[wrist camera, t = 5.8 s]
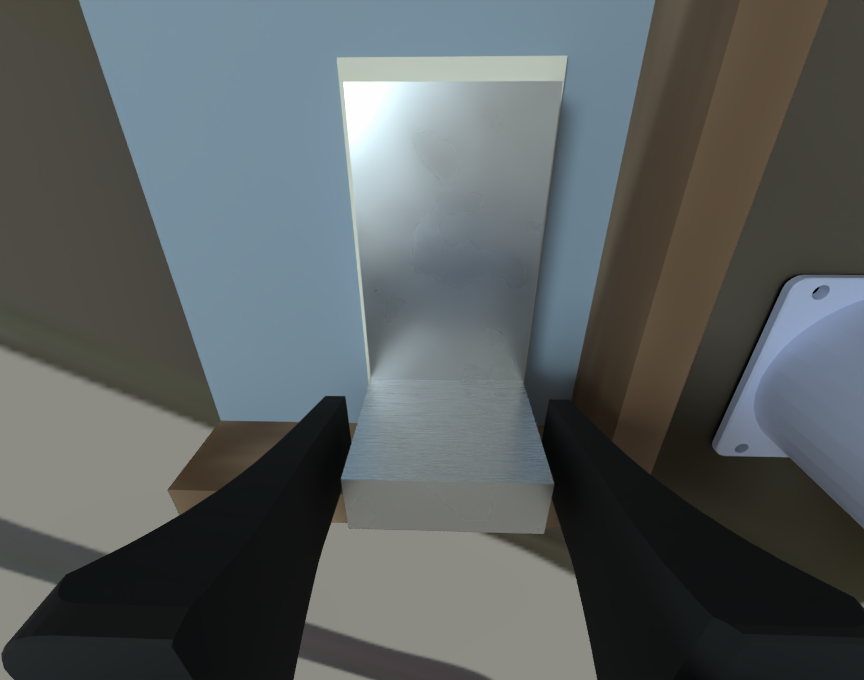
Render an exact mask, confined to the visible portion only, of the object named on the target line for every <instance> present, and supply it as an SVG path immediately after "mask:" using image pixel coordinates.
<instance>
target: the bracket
mask: <svg viewBox="0 0 864 680" xmlns="http://www.w3.org/2000/svg"><path fill="white" fill-rule="evenodd" d="M343 84H344V95H345V106H346V117H347V127H348V138H349V149H350V160H351V171H352V182H353V192H354V203H355V214H356V225H357V236H358V246H359V257H360V268H361V279H362V290H363V301H364V311H365V322H366V333H367V344H368V355H369V365H370V376H371V379H370V383H369V386H368V389H367V393H366V396H365V399H364V403H363V406H362V409H361V413H360V416H359V420H358V423H357V426H356V430H355V433H354V436H353V440H352V443H351V446H350V450H349V453H348V457H347V460H346V463H345V467H344V470H343V473H342V477H341V484H342V490H343V497H344V503H345V509H346V515H347V521H348V527H349V529H383V530H421V531H458V532H496V533H534V534H544V531H545V526H546V522H547V517H548V512H549V508H550V503H551V498H552V493H553V489H554V481H553V478H552V475H551V471H550V468H549V465H548V461H547V458H546V455H545V452H544V448H543V445H542V442H541V439H540V435H539V432H538V429H537V426H536V422H535V419H534V416H533V413H532V409H531V406H530V403H529V399H528V396H527V393H526V390H525V386H524V383H523V376H524V369H525V361H526V354H527V346H528V339H529V331H530V324H531V316H532V309H533V301H534V294H535V286H536V279H537V271H538V264H539V256H540V249H541V241H542V234H543V226H544V219H545V211H546V204H547V196H548V189H549V182H550V174H551V167H552V159H553V152H554V144H555V137H556V129H557V122H558V114H559V107H560V99H561V92H562V84H563V81H446V82H343Z"/></svg>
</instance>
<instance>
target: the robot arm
mask: <svg viewBox="0 0 864 680" xmlns="http://www.w3.org/2000/svg"><path fill="white" fill-rule="evenodd" d="M818 287H819V289H818V290H817V292H815V293H814V294H812V293H813V291H814V290H815V289H816V288H818ZM351 443H352V442H351V434H350V427H349V419H348V412H347V405H346V397H345V396H325V397H324V398H323V399H322V400H321V401H320V402H319V403H318V404H317V405H316V406H315V407H314V408H313V409H312V410H311V411H310V412H309V413H308V414H307V415H306V416H305V417H304V418H303V419H302V420H301V421H300V422H299V423H298V424H297V425H296V426H295V427H293V428H292V429H291V430H290V431H289V432H288V433H287V434H286V435H285V436H284V437H283V438H282V439H281V440H280V441H279V442H278V443H277V444H275V445H274V446H273V447H272V448H271V449H270V450H269V451H267V452H266V453H265V454H264V455H263V456H262V457H261V458H259V459H258V460H257V461H256V462H255V463H254V464H252V465H251V466H250V467H249V468H247V469H246V470H245V471H244V472H242V473H241V474H240V475H238V476H237V477H236V478H234V479H233V480H232V481H230V482H229V483H227V484H226V485H225V486H223V487H222V488H221V489H219V490H218V491H216V492H215V493H213V494H212V495H210V496H209V497H207V498H206V499H204V500H202V501H201V502H199V503H198V504H196V505H195V506H193V507H192V508H190V509H189V510H187V511H186V512H184V513H182V514H181V515H179V516H178V517H176V518H174V519H172V520H171V521H169V522H167V523H166V524H164V525H162V526H160V527H159V528H157V529H155V530H153V531H152V532H150V533H148V534H146V535H144V536H143V537H141V538H139V539H137V540H135V541H133V542H131V543H130V544H128V545H126V546H124V547H122V548H120V549H118V550H116V551H114V552H112V553H110V554H108V555H106V556H104V557H102V558H100V559H98V560H96V561H94V562H92V563H89V564H87V565H85V566H83V567H81V568H79V569H77V570H75V571H73V572H71V573H69V574H66V575H65V577H64V578H63V579H62V580H61V581H60V582H59V583H58V584H57V586H56V587H55V588H54V589H53V590H52V591H51V593H50V594H49V595H48V596H47V597H46V599H45V600H44V601H43V602H42V603H41V604H40V606H39V607H38V608H37V609H36V610H35V611H34V613H33V614H32V615H31V616H30V617H29V619H28V620H27V621H26V622H25V623H24V624H23V626H22V627H21V628H20V629H19V630H18V632H17V633H16V634H15V635H14V636H13V637H12V639H11V640H10V641H9V642H8V643H7V644H6V646H5V647H4V650H3V652H2V662H3V666H4V669H5V670H6V671H7V672H8V673H9V675H10V676H11V677H12V678H13V679H14V680H293V679H294V674H295V668H296V664H297V659H298V654H299V649H300V644H301V638H302V634H303V629H304V625H305V620H306V615H307V610H308V606H309V601H310V597H311V592H312V587H313V583H314V579H315V575H316V571H317V566H318V562H319V559H320V555H321V552H322V549H323V545H324V542H325V539H326V536H327V533H328V530H329V527H330V524H331V521H332V518H333V515H334V512H335V509H336V506H337V503H338V500H339V497H340V494H341V491H342V484H341V477H342V473H343V470H344V467H345V463H346V460H347V457H348V453H349V450H350V446H351ZM542 445H543V448H544V452H545V455H546V458H547V461H548V465H549V468H550V471H551V475H552V478H553V481H554V489H553V493H552V502H553V505H554V508H555V511H556V514H557V517H558V520H559V523H560V526H561V529H562V532H563V535H564V538H565V541H566V544H567V547H568V550H569V553H570V557H571V560H572V564H573V567H574V571H575V575H576V579H577V584H578V588H579V592H580V597H581V601H582V606H583V610H584V615H585V620H586V625H587V629H588V634H589V638H590V643H591V649H592V654H593V659H594V665H595V670H596V674H597V680H864V608H863V607H862V606H861V604H860V603H859V602H858V601H857V600H856V599H855V598H854V597H852V596H850V595H848V594H846V593H844V592H842V591H840V590H838V589H836V588H835V587H833V586H831V585H829V584H827V583H825V582H823V581H821V580H819V579H817V578H815V577H813V576H811V575H809V574H807V573H805V572H803V571H801V570H799V569H797V568H795V567H793V566H791V565H789V564H787V563H786V562H784V561H782V560H780V559H778V558H777V557H775V556H773V555H771V554H769V553H768V552H766V551H764V550H762V549H761V548H759V547H757V546H755V545H754V544H752V543H750V542H748V541H747V540H745V539H743V538H742V537H740V536H738V535H737V534H735V533H733V532H732V531H730V530H728V529H727V528H725V527H724V526H722V525H721V524H719V523H718V522H716V521H714V520H713V519H711V518H710V517H708V516H707V515H705V514H704V513H702V512H700V511H699V510H698V509H696V508H695V507H693V506H692V505H690V504H689V503H687V502H686V501H684V500H683V499H682V498H680V497H679V496H678V495H676V494H675V493H674V492H672V491H671V490H670V489H668V488H667V487H665V486H664V485H663V484H661V483H660V482H659V481H658V480H656V479H655V478H654V477H653V476H651V475H650V474H649V473H648V472H646V471H645V470H644V469H643V468H642V467H640V466H639V465H638V464H637V463H636V462H635V461H633V460H632V459H631V458H630V457H629V456H628V455H626V454H625V453H624V452H623V451H622V450H621V449H620V448H619V447H618V446H616V445H615V444H614V443H613V442H612V441H611V440H610V439H609V438H608V437H607V436H606V435H605V434H604V433H603V432H602V431H601V430H600V429H599V428H598V427H597V426H596V425H595V424H594V423H593V422H592V421H591V420H590V419H589V418H588V417H587V416H586V415H585V414H584V413H583V412H582V411H581V410H580V409H579V408H578V407H577V406H576V405H575V404H574V403H572V402H571V401H570V400H556V399H549V402H548V408H547V414H546V419H545V425H544V431H543V437H542ZM712 447H713V449H714V450H715V451H716V452H717V453H718V454H719V455H722V456H752V457H789V458H790V459H791V460H792V461H794V462H795V463H796V464H797V465H798V466H799V467H800V468H801V469H802V470H803V471H804V472H805V473H806V474H807V475H808V476H809V477H810V478H811V479H812V480H813V481H814V482H815V483H816V484H818V485H819V486H820V487H821V488H822V489H823V490H824V491H825V492H826V493H827V494H828V495H829V496H830V497H831V498H832V499H833V500H834V501H835V502H836V503H837V504H838V505H839V506H841V507H842V508H843V509H844V510H845V511H846V512H847V513H848V514H849V515H850V516H851V517H852V518H853V519H854V520H855V521H856V522H857V523H858V524H859V525H860V526H861V527H862V528H863V529H864V275H799V276H796V277H794V278H792V279H790V280H789V281H788V282H787V283H786V284H785V285H784V287H783V288H782V290H781V293H780V295H779V297H778V299H777V301H776V303H775V306H774V308H773V310H772V312H771V314H770V317H769V319H768V321H767V323H766V325H765V328H764V330H763V332H762V334H761V336H760V339H759V341H758V343H757V345H756V347H755V350H754V352H753V354H752V356H751V358H750V361H749V363H748V365H747V367H746V369H745V372H744V374H743V376H742V378H741V380H740V383H739V385H738V387H737V389H736V391H735V394H734V396H733V398H732V400H731V402H730V404H729V407H728V409H727V411H726V413H725V415H724V418H723V420H722V422H721V424H720V426H719V429H718V431H717V433H716V435H715V437H714V440H713V442H712Z"/></svg>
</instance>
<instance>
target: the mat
mask: <svg viewBox="0 0 864 680" xmlns="http://www.w3.org/2000/svg"><path fill="white" fill-rule="evenodd" d="M79 2H80V5H81V8H82V11H83V14H84V17H85V20H86V22H87V25H88V28H89V31H90V34H91V37H92V40H93V43H94V46H95V49H96V52H97V55H98V58H99V61H100V64H101V67H102V70H103V73H104V76H105V79H106V82H107V85H108V88H109V91H110V94H111V97H112V100H113V103H114V106H115V108H116V111H117V114H118V117H119V120H120V123H121V126H122V129H123V132H124V135H125V138H126V141H127V144H128V147H129V150H130V153H131V156H132V159H133V162H134V165H135V168H136V171H137V174H138V177H139V180H140V183H141V186H142V189H143V191H144V194H145V197H146V200H147V203H148V206H149V209H150V212H151V215H152V218H153V221H154V224H155V227H156V230H157V233H158V236H159V239H160V242H161V245H162V248H163V251H164V254H165V257H166V260H167V263H168V266H169V269H170V272H171V274H172V277H173V280H174V283H175V286H176V289H177V292H178V295H179V298H180V301H181V304H182V307H183V310H184V313H185V316H186V319H187V322H188V325H189V328H190V331H191V334H192V337H193V340H194V343H195V346H196V349H197V352H198V355H199V357H200V360H201V363H202V366H203V369H204V372H205V375H206V378H207V381H208V384H209V387H210V390H211V393H212V396H213V399H214V402H215V405H216V408H217V411H218V414H219V417H220V420H221V421H275V422H300V421H301V420H302V419H303V418H304V417H305V416H306V415H307V414H308V413H309V412H310V411H311V410H312V409H313V408H314V407H315V406H316V405H317V404H318V403H319V402H320V401H321V400H322V399H323V398H324V397H325V396H345V397H346V405H347V412H348V419H349V423H358V420H359V416H360V413H361V409H362V406H363V403H364V399H365V396H366V393H367V389H368V386H369V383H370V379H371V376H370V365H369V355H368V344H367V333H366V322H365V311H364V301H363V290H362V279H361V268H360V257H359V246H358V236H357V225H356V214H355V203H354V192H353V182H352V171H351V160H350V149H349V138H348V127H347V117H346V106H345V95H344V84H343V82H446V81H563V84H562V92H561V99H560V107H559V114H558V122H557V129H556V137H555V144H554V152H553V159H552V167H551V174H550V182H549V189H548V196H547V204H546V211H545V219H544V226H543V234H542V241H541V249H540V256H539V264H538V271H537V279H536V286H535V294H534V301H533V309H532V316H531V324H530V331H529V339H528V346H527V354H526V361H525V369H524V376H523V383H524V386H525V390H526V393H527V396H528V399H529V403H530V406H531V409H532V413H533V416H534V419H535V422H536V426H544V425H545V419H546V414H547V408H548V402H549V399H556V400H570V401H571V399H572V394H573V390H574V385H575V380H576V375H577V371H578V366H579V361H580V356H581V352H582V347H583V342H584V337H585V332H586V328H587V323H588V318H589V313H590V309H591V304H592V299H593V294H594V290H595V285H596V280H597V275H598V271H599V266H600V261H601V256H602V252H603V247H604V242H605V237H606V233H607V228H608V223H609V218H610V213H611V209H612V204H613V199H614V194H615V190H616V185H617V180H618V175H619V171H620V166H621V161H622V156H623V152H624V147H625V142H626V137H627V133H628V128H629V123H630V118H631V114H632V109H633V104H634V99H635V95H636V90H637V85H638V80H639V75H640V71H641V66H642V61H643V56H644V52H645V47H646V42H647V37H648V33H649V28H650V23H651V18H652V14H653V9H654V4H655V0H79Z"/></svg>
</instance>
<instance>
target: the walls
mask: <svg viewBox="0 0 864 680" xmlns="http://www.w3.org/2000/svg"><path fill="white" fill-rule="evenodd" d="M827 2H828V0H655V4H654V9H653V14H652V18H651V23H650V28H649V33H648V37H647V42H646V47H645V52H644V56H643V61H642V66H641V71H640V75H639V80H638V85H637V90H636V95H635V99H634V104H633V109H632V114H631V118H630V123H629V128H628V133H627V137H626V142H625V147H624V152H623V156H622V161H621V166H620V171H619V175H618V180H617V185H616V190H615V194H614V199H613V204H612V209H611V213H610V218H609V223H608V228H607V233H606V237H605V242H604V247H603V252H602V256H601V261H600V266H599V271H598V275H597V280H596V285H595V290H594V294H593V299H592V304H591V309H590V313H589V318H588V323H587V328H586V332H585V337H584V342H583V347H582V352H581V356H580V361H579V366H578V371H577V375H576V380H575V385H574V390H573V394H572V399H571V402H572V403H574V404H575V405H576V406H577V407H578V408H579V409H580V410H581V411H582V412H583V413H584V414H585V415H586V416H587V417H588V418H589V419H590V420H591V421H592V422H593V423H594V424H595V425H596V426H597V427H598V428H599V429H600V430H601V431H602V432H603V433H604V434H605V435H606V436H607V437H608V438H609V439H610V440H611V441H612V442H613V443H614V444H615V445H616V446H618V447H619V448H620V449H621V450H622V451H623V452H624V453H625V454H626V455H628V456H629V457H630V458H631V459H632V460H633V461H635V462H636V463H637V464H638V465H639V466H640V467H642V468H643V469H644V470H645V471H646V472H648V473H649V474H650V475H651V472H652V470H653V467H654V464H655V462H656V459H657V456H658V454H659V451H660V448H661V446H662V443H663V440H664V438H665V435H666V432H667V430H668V427H669V424H670V422H671V419H672V416H673V414H674V411H675V408H676V406H677V403H678V400H679V398H680V395H681V392H682V390H683V387H684V384H685V382H686V379H687V376H688V374H689V371H690V368H691V366H692V363H693V360H694V358H695V355H696V352H697V349H698V347H699V344H700V341H701V339H702V336H703V333H704V331H705V328H706V325H707V323H708V320H709V317H710V315H711V312H712V309H713V307H714V304H715V301H716V299H717V296H718V293H719V291H720V288H721V285H722V283H723V280H724V277H725V275H726V272H727V269H728V267H729V264H730V261H731V259H732V256H733V253H734V251H735V248H736V245H737V243H738V240H739V237H740V235H741V232H742V229H743V227H744V224H745V221H746V219H747V216H748V213H749V211H750V208H751V205H752V203H753V200H754V197H755V195H756V192H757V189H758V187H759V184H760V181H761V179H762V176H763V173H764V171H765V168H766V165H767V163H768V160H769V157H770V155H771V152H772V149H773V146H774V144H775V141H776V138H777V136H778V133H779V130H780V128H781V125H782V122H783V120H784V117H785V114H786V112H787V109H788V106H789V104H790V101H791V98H792V96H793V93H794V90H795V88H796V85H797V82H798V80H799V77H800V74H801V72H802V69H803V66H804V64H805V61H806V58H807V56H808V53H809V50H810V48H811V45H812V42H813V40H814V37H815V34H816V32H817V29H818V26H819V24H820V21H821V18H822V16H823V13H824V10H825V8H826V5H827ZM298 423H299V422H275V421H220V422H219V423H218V425H217V426H216V427H215V429H214V430H213V431H212V433H211V434H210V435H209V437H208V438H207V439H206V440H205V442H204V443H203V444H202V446H201V447H200V448H199V450H198V451H197V452H196V454H195V455H194V456H193V457H192V459H191V460H190V461H189V463H188V464H187V465H186V466H185V468H184V469H183V470H182V472H181V473H180V474H179V476H178V477H177V478H176V480H175V481H174V482H173V483H172V485H171V486H170V487H169V489H168V492H169V494H170V496H171V498H172V500H173V502H174V504H175V507H176V509H177V511H178V513H179V515H181V514H182V513H184V512H186V511H187V510H189V509H190V508H192V507H193V506H195V505H196V504H198V503H199V502H201V501H202V500H204V499H206V498H207V497H209V496H210V495H212V494H213V493H215V492H216V491H218V490H219V489H221V488H222V487H223V486H225V485H226V484H227V483H229V482H230V481H232V480H233V479H234V478H236V477H237V476H238V475H240V474H241V473H242V472H244V471H245V470H246V469H247V468H249V467H250V466H251V465H252V464H254V463H255V462H256V461H257V460H258V459H259V458H261V457H262V456H263V455H264V454H265V453H266V452H267V451H269V450H270V449H271V448H272V447H273V446H274V445H275V444H277V443H278V442H279V441H280V440H281V439H282V438H283V437H284V436H285V435H286V434H287V433H288V432H289V431H290V430H291V429H292V428H293V427H295V426H296V425H297V424H298ZM356 426H357V423H349V427H350V434H351V442H352V440H353V436H354V433H355V430H356ZM537 429H538V432H539V435H540V439H541V442H542V437H543V431H544V426H537ZM331 522H334V523H335V522H336V523H348V521H347V515H346V509H345V503H344V497H343V490H342V491H341V494H340V497H339V500H338V503H337V506H336V509H335V512H334V515H333V518H332V521H331ZM545 528H561V526H560V523H559V520H558V517H557V514H556V511H555V508H554V505H553V502H552V498H551V503H550V508H549V512H548V517H547V522H546V526H545Z"/></svg>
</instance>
